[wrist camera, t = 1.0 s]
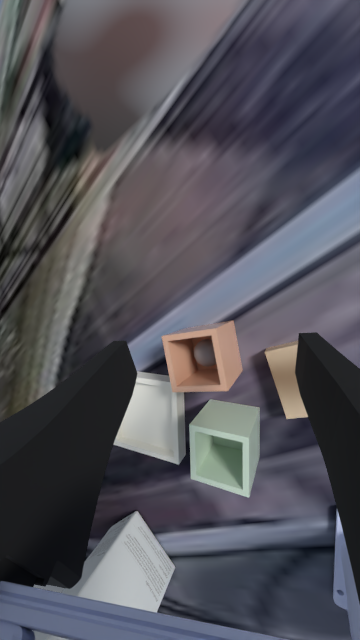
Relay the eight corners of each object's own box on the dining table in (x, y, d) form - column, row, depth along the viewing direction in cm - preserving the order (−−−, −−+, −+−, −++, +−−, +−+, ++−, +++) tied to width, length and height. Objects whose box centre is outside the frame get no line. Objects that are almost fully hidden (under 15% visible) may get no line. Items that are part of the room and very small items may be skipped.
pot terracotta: (242, 370, 24) (227, 390, 19) (196, 373, 26) (172, 392, 22) (233, 320, 24) (216, 328, 19) (187, 327, 26) (161, 336, 21)
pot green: (259, 455, 24) (249, 497, 19) (211, 443, 27) (190, 478, 22) (259, 407, 24) (249, 437, 19) (210, 399, 26) (189, 424, 21)
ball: (225, 363, 24) (216, 372, 22) (200, 360, 25) (190, 368, 23) (224, 337, 24) (215, 343, 22) (199, 335, 25) (188, 341, 23)
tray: (185, 454, 28) (178, 464, 26) (122, 436, 32) (113, 444, 30) (183, 377, 27) (176, 383, 25) (118, 368, 31) (108, 373, 29)
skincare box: (112, 523, 35) (-14, 680, 21) (139, 506, 32) (16, 673, 18) (148, 582, 33) (36, 797, 19) (180, 569, 30) (77, 808, 16)
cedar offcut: (323, 404, 22) (325, 415, 20) (287, 409, 23) (286, 419, 21) (301, 339, 22) (301, 343, 20) (267, 347, 23) (264, 352, 21)
